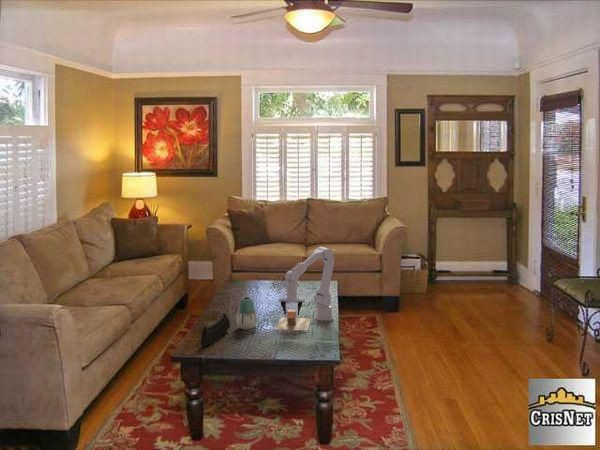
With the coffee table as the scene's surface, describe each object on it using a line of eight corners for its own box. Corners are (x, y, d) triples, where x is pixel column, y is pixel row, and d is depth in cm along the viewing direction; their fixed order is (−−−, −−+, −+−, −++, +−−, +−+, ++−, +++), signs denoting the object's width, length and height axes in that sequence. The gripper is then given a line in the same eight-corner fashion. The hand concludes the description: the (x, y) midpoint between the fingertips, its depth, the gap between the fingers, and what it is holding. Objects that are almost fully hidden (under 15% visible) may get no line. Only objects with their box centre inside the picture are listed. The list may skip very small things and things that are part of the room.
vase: (254, 331, 343) (253, 300, 341) (234, 330, 346) (233, 299, 343) (259, 325, 355) (259, 295, 352) (240, 324, 357) (239, 294, 354)
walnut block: (296, 323, 356) (296, 316, 356) (295, 325, 352) (295, 318, 351) (288, 322, 357) (288, 316, 356) (287, 325, 352) (287, 318, 352)
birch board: (310, 319, 366) (310, 318, 366) (307, 332, 343) (307, 330, 342) (281, 319, 368) (281, 317, 368) (275, 331, 344) (275, 329, 344)
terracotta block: (296, 316, 356) (296, 309, 355) (295, 318, 351) (295, 311, 351) (288, 316, 356) (288, 309, 356) (287, 318, 352) (287, 311, 351)
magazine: (203, 332, 313) (226, 302, 339) (197, 332, 314) (221, 301, 340) (208, 360, 319) (230, 328, 345) (203, 359, 320) (225, 327, 346)
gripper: (278, 293, 349) (278, 316, 350) (303, 293, 347) (303, 316, 349) (279, 290, 356) (280, 312, 357) (304, 290, 354) (304, 313, 356)
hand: (291, 314), depth 354 cm, fingers open, 7 cm apart
